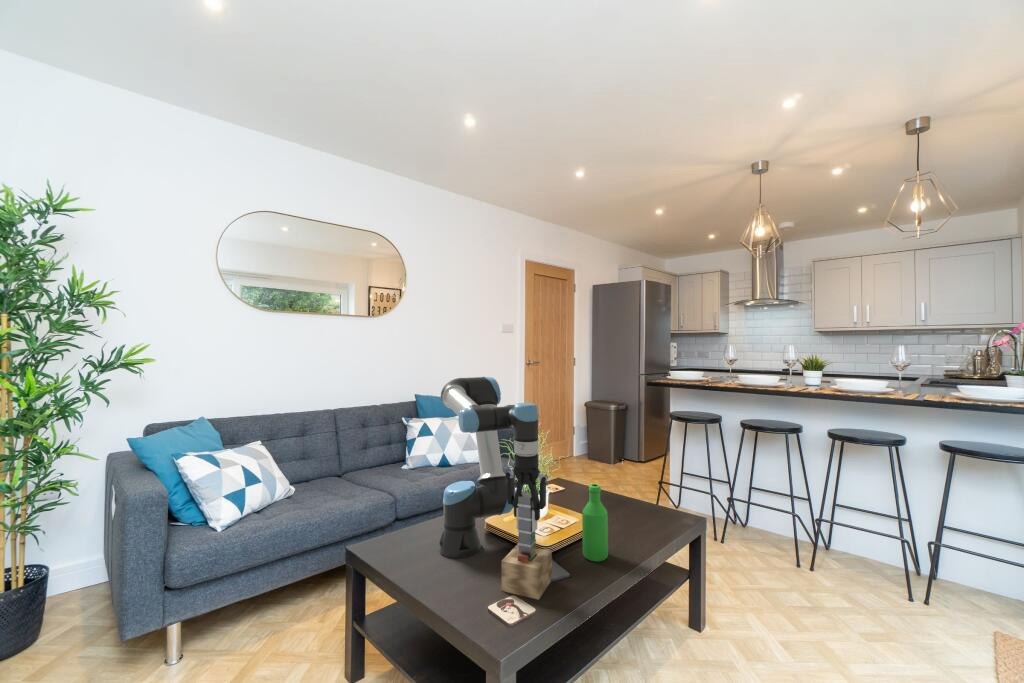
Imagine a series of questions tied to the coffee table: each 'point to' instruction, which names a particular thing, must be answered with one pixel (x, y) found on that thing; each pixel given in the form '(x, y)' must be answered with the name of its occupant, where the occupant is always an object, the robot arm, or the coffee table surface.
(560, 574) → the smartphone
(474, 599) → the coffee table surface
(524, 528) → the column
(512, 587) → the housing
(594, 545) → the bottle
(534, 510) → the robot arm
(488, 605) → the coffee table surface
